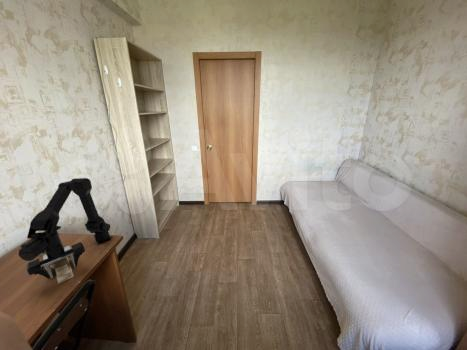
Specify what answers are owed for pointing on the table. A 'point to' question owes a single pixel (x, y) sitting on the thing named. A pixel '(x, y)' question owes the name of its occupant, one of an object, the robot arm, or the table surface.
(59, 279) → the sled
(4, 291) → the table surface
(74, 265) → the tunnel
